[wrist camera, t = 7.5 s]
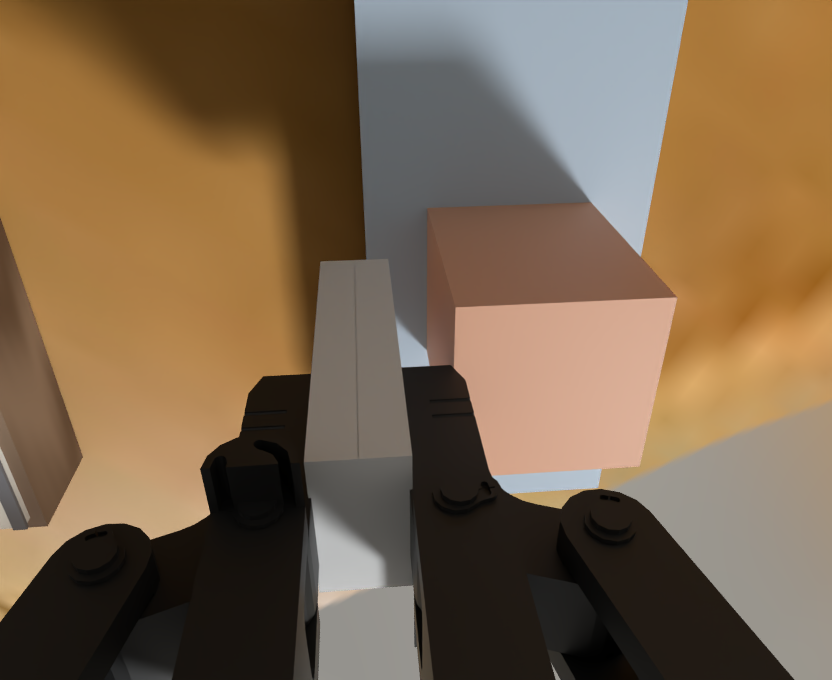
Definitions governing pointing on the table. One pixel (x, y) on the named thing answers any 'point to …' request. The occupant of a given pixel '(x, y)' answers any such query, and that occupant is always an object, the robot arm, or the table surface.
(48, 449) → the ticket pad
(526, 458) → the blue base with cube
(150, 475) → the table surface
